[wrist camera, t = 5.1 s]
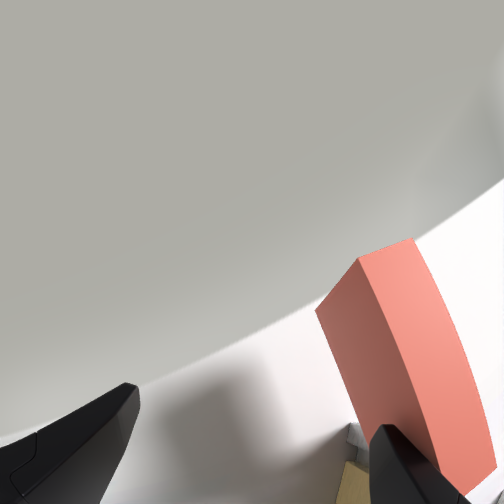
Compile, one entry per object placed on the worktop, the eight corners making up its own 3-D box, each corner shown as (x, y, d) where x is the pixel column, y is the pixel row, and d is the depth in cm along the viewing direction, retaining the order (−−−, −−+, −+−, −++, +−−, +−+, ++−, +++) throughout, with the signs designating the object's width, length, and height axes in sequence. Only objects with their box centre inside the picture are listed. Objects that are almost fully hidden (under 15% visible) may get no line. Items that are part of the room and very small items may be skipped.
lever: (440, 525, 8) (509, 553, 3) (399, 551, 8) (459, 595, 3) (358, 293, 13) (416, 235, 8) (310, 312, 13) (351, 260, 8)
